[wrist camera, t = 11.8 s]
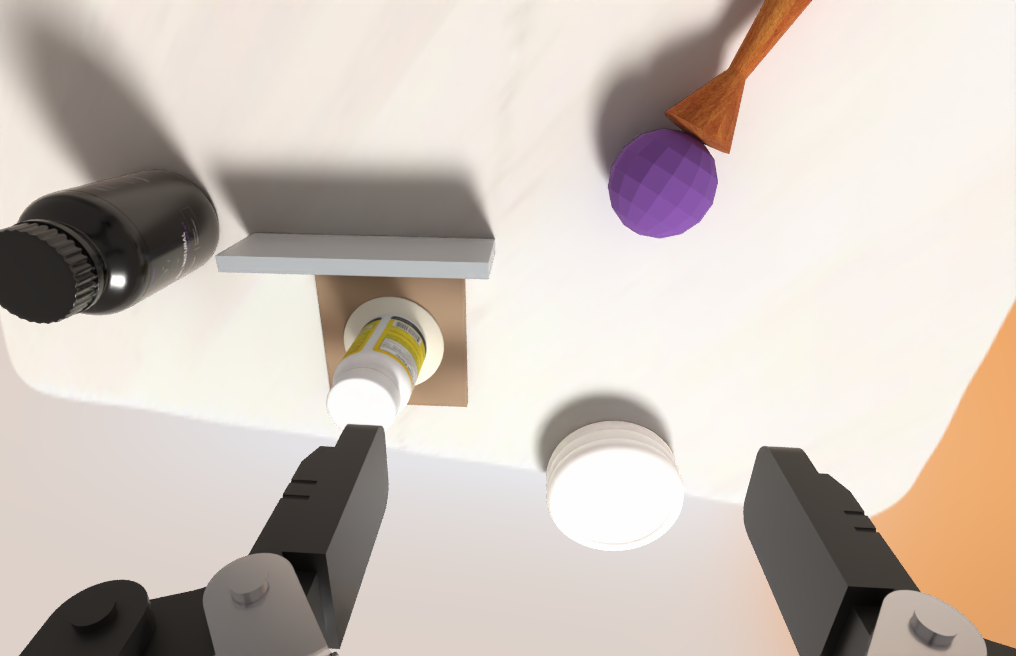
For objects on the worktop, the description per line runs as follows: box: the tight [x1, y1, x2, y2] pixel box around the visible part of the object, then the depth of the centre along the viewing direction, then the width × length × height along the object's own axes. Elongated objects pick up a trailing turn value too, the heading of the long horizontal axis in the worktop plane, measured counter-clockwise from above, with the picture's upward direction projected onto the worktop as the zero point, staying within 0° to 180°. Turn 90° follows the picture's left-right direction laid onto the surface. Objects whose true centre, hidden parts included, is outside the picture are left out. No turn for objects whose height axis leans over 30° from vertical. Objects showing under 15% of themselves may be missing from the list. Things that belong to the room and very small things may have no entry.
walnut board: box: [315, 275, 468, 407], centre depth 41 cm, size 10×10×1 cm
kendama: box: [608, 0, 812, 238], centre depth 31 cm, size 6×6×20 cm
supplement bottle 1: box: [0, 170, 219, 324], centre depth 33 cm, size 7×7×12 cm
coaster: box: [546, 421, 684, 551], centre depth 44 cm, size 10×10×4 cm
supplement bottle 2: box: [327, 314, 427, 431], centre depth 37 cm, size 5×5×8 cm
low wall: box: [215, 233, 495, 279], centre depth 36 cm, size 1×16×5 cm, turn 89°
